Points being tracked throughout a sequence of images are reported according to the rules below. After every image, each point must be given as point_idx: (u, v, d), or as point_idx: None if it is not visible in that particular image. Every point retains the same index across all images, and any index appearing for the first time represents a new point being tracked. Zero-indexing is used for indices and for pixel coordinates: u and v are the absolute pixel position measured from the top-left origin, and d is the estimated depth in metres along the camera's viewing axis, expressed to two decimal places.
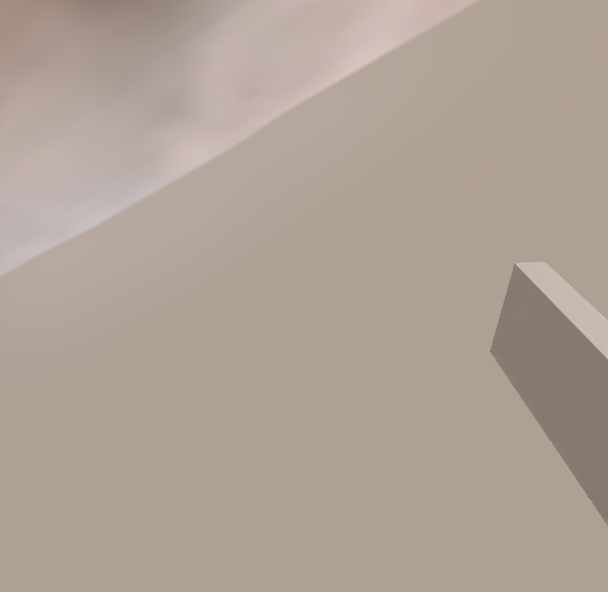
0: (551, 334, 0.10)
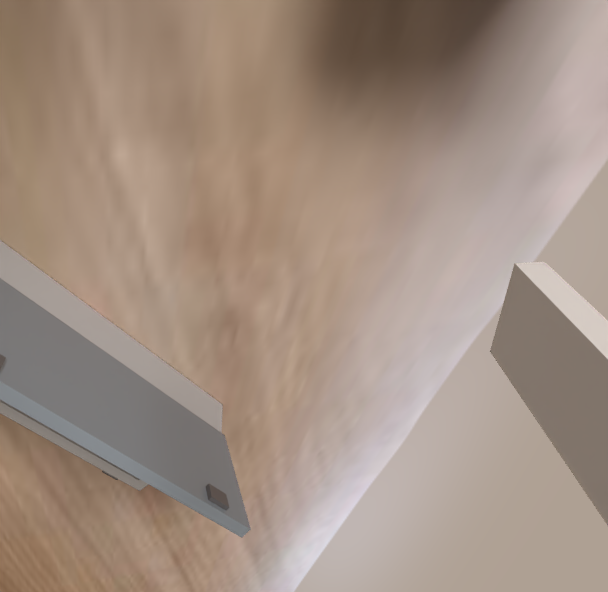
0: (551, 334, 0.10)
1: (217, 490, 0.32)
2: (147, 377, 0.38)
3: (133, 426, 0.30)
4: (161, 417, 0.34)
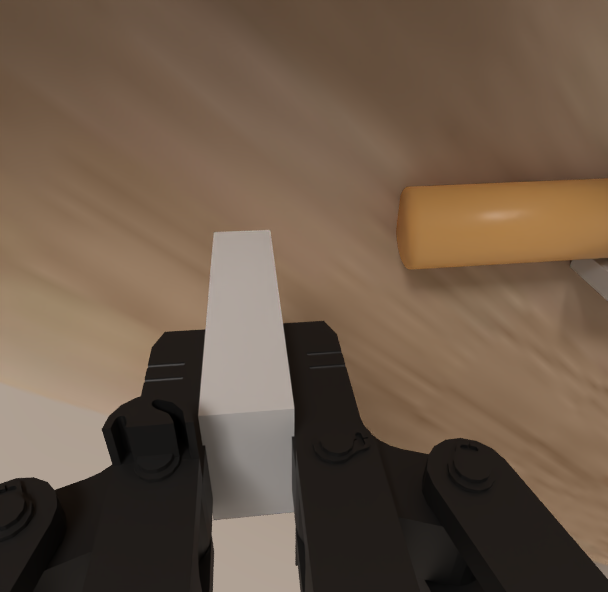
0: None
1: None
2: None
3: None
4: None
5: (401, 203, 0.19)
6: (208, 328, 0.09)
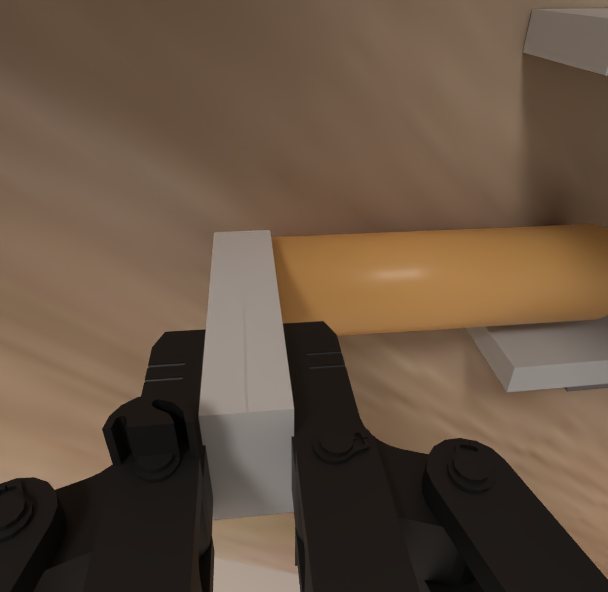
0: None
1: None
2: None
3: None
4: None
5: None
6: (208, 328, 0.09)
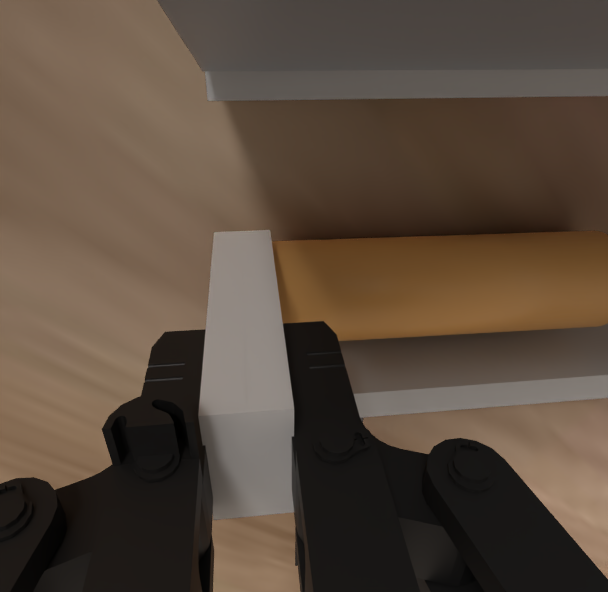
0: None
1: None
2: None
3: None
4: None
5: None
6: (208, 328, 0.09)
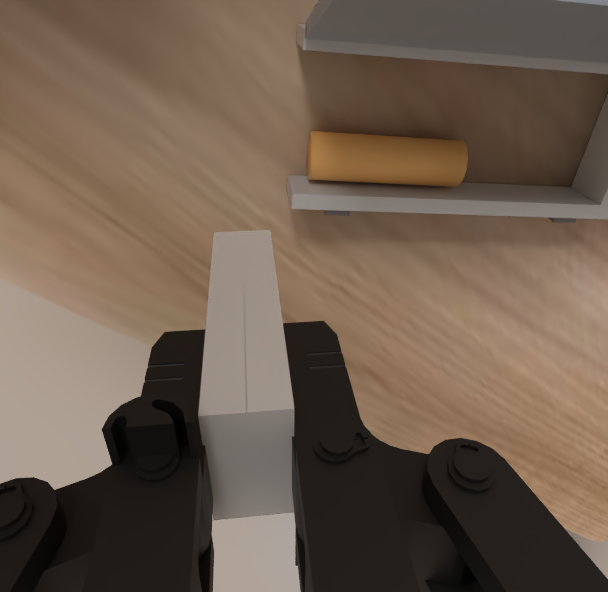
0: None
1: None
2: None
3: None
4: None
5: (309, 139, 0.32)
6: (208, 328, 0.09)
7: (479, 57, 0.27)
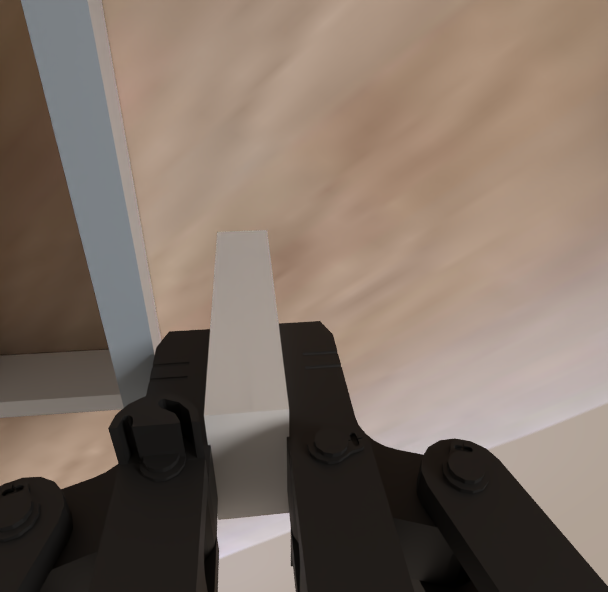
0: None
1: None
2: None
3: None
4: None
5: None
6: (212, 328, 0.09)
7: None
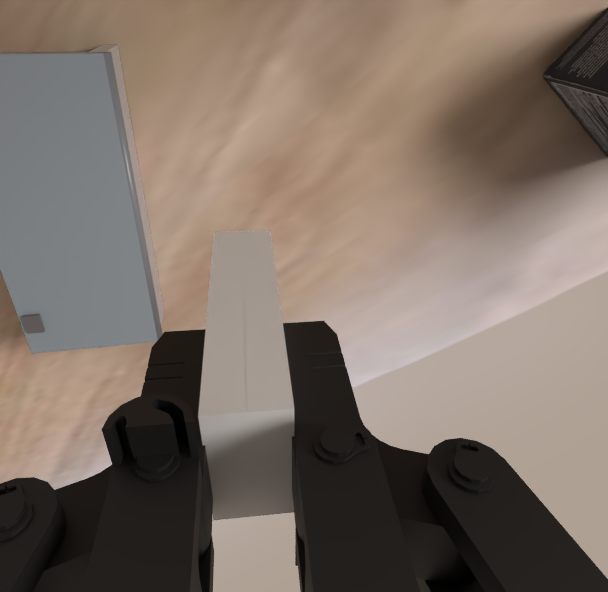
0: None
1: (38, 323, 0.38)
2: None
3: (39, 243, 0.35)
4: (93, 270, 0.37)
5: None
6: (208, 328, 0.09)
7: None
